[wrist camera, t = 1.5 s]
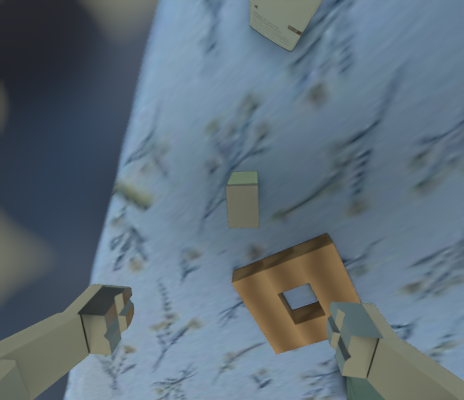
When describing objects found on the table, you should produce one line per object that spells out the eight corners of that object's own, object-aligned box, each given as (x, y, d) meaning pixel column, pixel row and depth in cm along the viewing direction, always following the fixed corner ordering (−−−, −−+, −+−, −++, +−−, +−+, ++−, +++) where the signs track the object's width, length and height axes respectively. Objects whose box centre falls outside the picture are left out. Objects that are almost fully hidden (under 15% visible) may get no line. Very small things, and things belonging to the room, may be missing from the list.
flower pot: (386, 387, 43) (419, 452, 34) (337, 388, 44) (357, 451, 35) (388, 353, 40) (424, 414, 32) (336, 354, 41) (357, 414, 33)
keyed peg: (257, 171, 32) (257, 185, 24) (258, 204, 34) (259, 227, 26) (232, 172, 32) (225, 186, 25) (234, 204, 34) (228, 228, 26)
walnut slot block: (326, 233, 34) (333, 243, 31) (362, 311, 38) (371, 326, 35) (233, 270, 38) (231, 282, 35) (274, 338, 41) (276, 354, 38)
